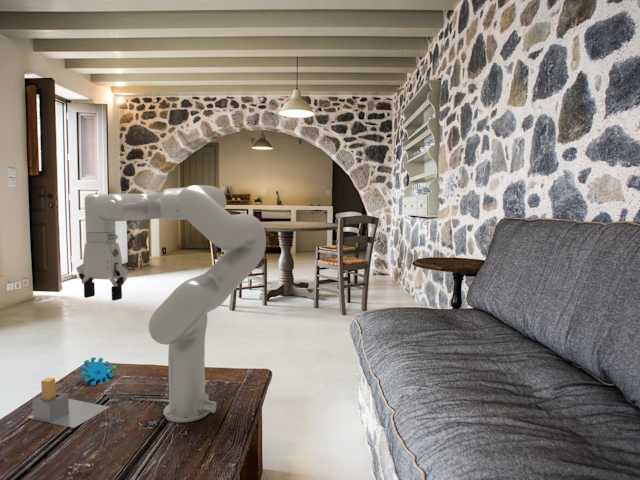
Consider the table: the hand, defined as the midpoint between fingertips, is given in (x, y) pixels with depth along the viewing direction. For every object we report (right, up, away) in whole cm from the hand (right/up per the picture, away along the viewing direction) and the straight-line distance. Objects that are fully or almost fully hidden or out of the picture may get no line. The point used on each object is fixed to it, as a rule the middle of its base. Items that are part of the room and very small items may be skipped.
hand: (103, 298), depth 127 cm
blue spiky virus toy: (-9, -29, +16) cm, 34 cm away
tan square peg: (-10, -30, -8) cm, 33 cm away
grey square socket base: (-6, -31, -6) cm, 32 cm away
